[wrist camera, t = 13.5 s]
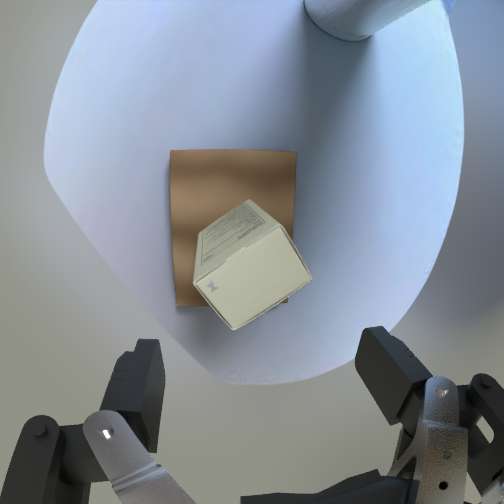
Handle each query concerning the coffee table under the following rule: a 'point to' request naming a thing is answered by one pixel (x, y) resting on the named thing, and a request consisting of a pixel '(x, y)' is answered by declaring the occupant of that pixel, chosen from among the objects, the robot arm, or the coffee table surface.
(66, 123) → the coffee table surface
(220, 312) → the skincare box
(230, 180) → the walnut board
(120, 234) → the coffee table surface
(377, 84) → the coffee table surface
